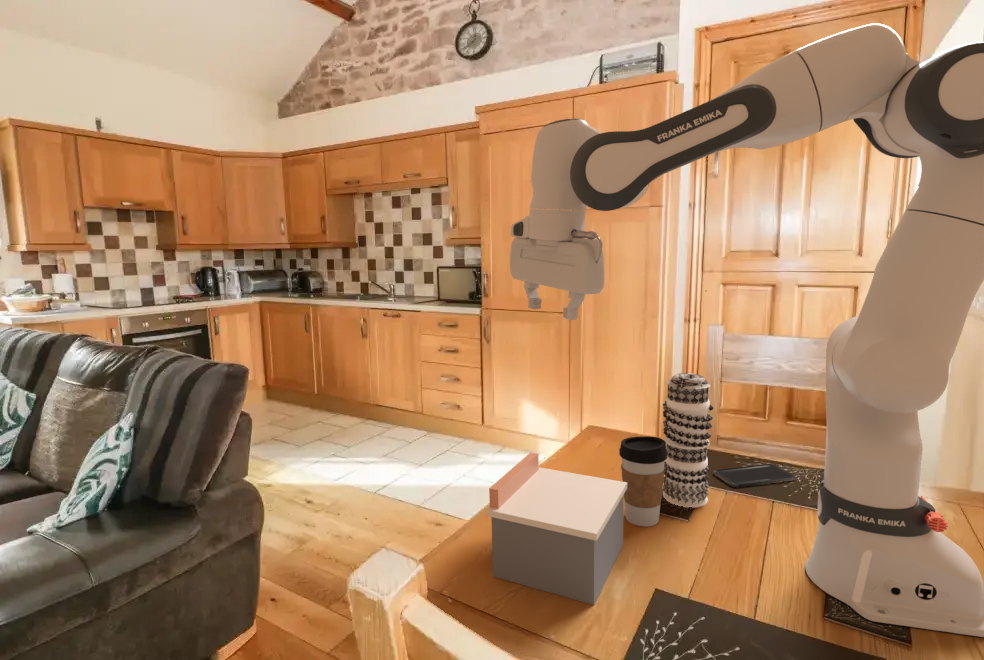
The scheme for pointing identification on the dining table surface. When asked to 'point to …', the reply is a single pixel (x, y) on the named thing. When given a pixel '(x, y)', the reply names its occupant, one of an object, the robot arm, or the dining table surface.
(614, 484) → the lid
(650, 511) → the coffee cup
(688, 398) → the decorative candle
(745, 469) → the phone
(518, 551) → the storage box
